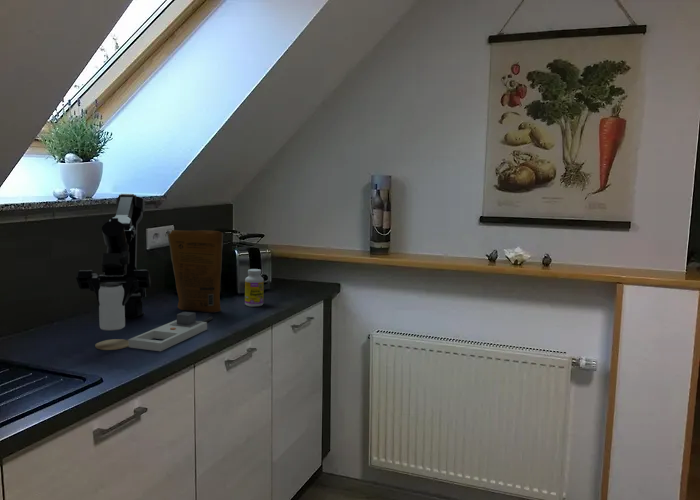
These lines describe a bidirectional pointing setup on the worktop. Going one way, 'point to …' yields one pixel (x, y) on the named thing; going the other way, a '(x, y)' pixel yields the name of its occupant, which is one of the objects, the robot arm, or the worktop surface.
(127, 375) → the worktop surface
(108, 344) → the cork coaster
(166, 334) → the strip dock
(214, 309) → the pancake mix bag
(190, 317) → the block
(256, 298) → the supplement bottle
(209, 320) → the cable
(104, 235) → the robot arm
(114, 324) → the can
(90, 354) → the worktop surface
